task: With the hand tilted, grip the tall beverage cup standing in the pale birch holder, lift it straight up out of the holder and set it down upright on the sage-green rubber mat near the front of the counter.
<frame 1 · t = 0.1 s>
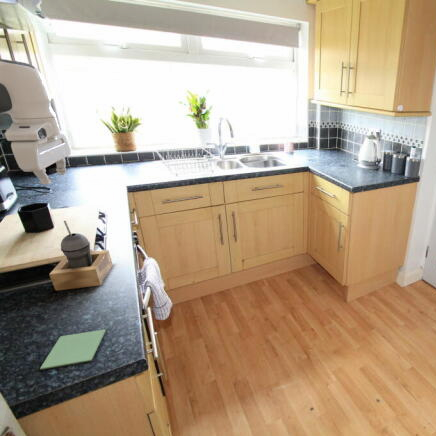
hand: (54, 178, 90), 33 cm above the worktop, tool pointing down, fingers open, 8 cm apart
beverage cup: (86, 277, 104), resting in holder
holder: (86, 277, 103), on the worktop
mat: (75, 348, 77), on the worktop
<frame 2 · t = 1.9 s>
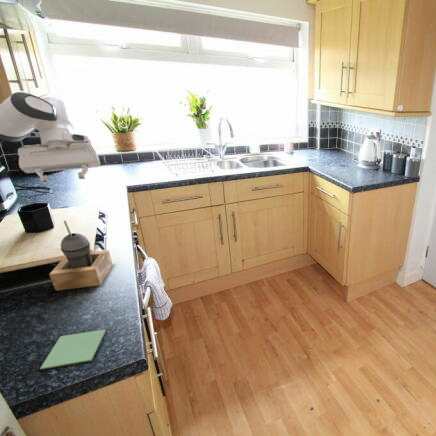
hand: (63, 180, 101), 29 cm above the worktop, tool tilted 45°, fingers open, 8 cm apart
nothing on the worktop moved.
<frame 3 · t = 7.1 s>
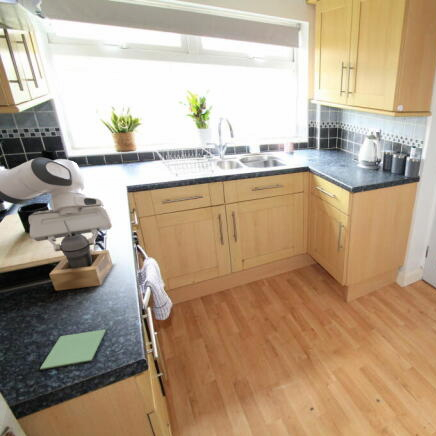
hand: (75, 247, 98), 11 cm above the worktop, tool tilted 45°, fingers closed on beverage cup, 7 cm apart
beverage cup: (86, 277, 104), resting in holder, touching gripper
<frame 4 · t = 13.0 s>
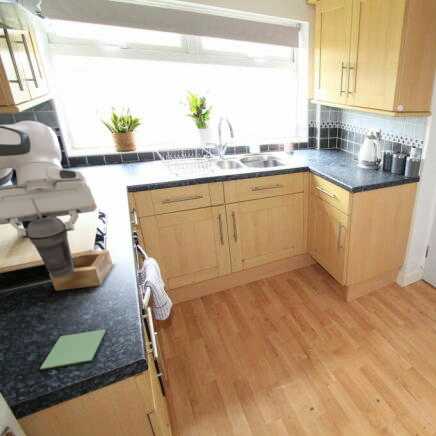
hand: (47, 233, 75), 26 cm above the worktop, tool tilted 45°, fingers closed on beverage cup, 7 cm apart
beverage cup: (63, 273, 80), point 15 cm above the worktop, touching gripper
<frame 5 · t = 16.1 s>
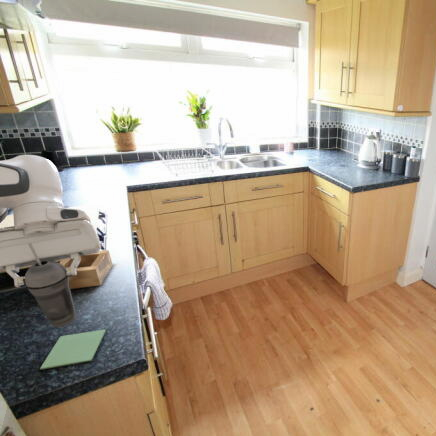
hand: (47, 280, 68), 20 cm above the worktop, tool tilted 45°, fingers closed on beverage cup, 7 cm apart
beverage cup: (64, 321, 73), point 9 cm above the worktop, touching gripper
when the fingers open (12 cm above the worktop, at t = 19.1 s): beverage cup stays where it is, resting on mat.
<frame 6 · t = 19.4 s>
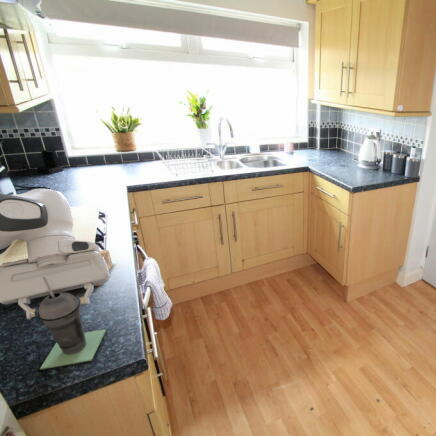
hand: (59, 311, 72), 12 cm above the worktop, tool tilted 45°, fingers open, 8 cm apart
beverage cup: (75, 348, 77), resting on mat
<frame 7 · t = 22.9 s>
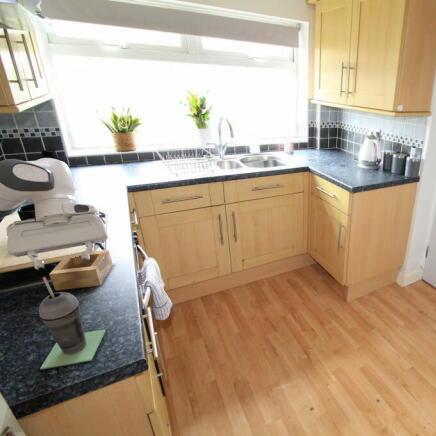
hand: (63, 264, 82), 16 cm above the worktop, tool tilted 45°, fingers open, 8 cm apart
nothing on the worktop moved.
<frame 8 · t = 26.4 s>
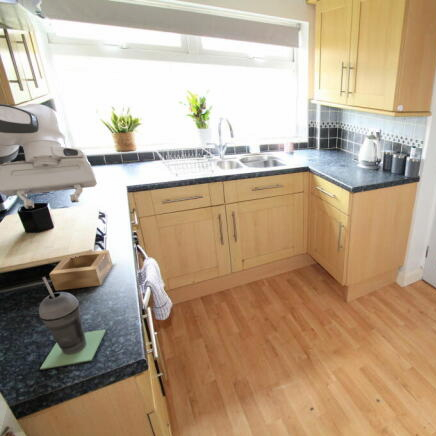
hand: (52, 204, 83), 29 cm above the worktop, tool tilted 45°, fingers open, 8 cm apart
nothing on the worktop moved.
at the end: beverage cup inside the target area on the mat (0.0 cm from its centre), point 0.2 cm above the mat's base; beverage cup tilted 0°; the gripper is holding nothing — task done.
